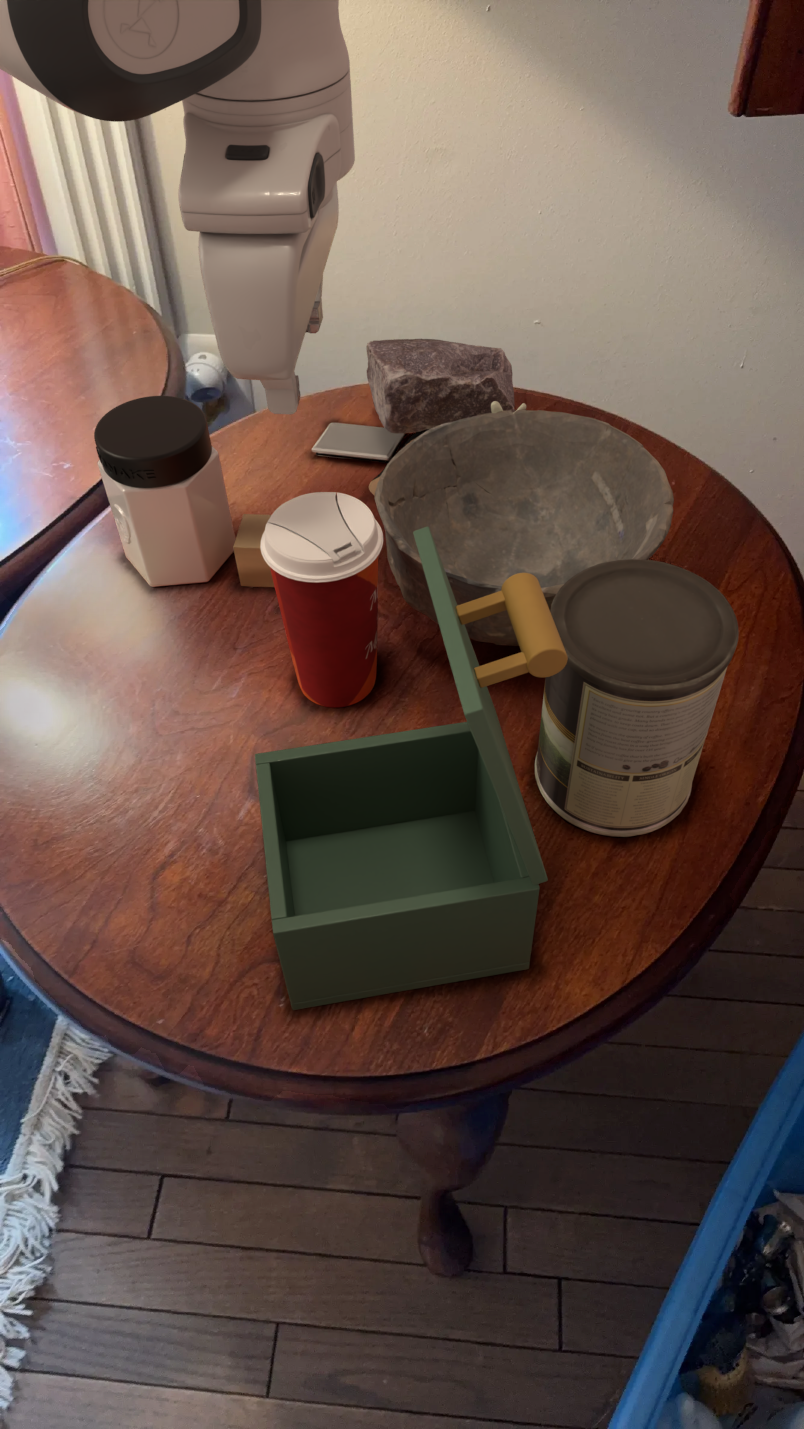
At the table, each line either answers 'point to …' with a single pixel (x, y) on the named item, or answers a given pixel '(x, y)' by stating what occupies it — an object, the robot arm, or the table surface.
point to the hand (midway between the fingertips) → (297, 365)
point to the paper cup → (327, 592)
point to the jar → (165, 489)
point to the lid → (496, 675)
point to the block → (252, 552)
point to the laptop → (358, 442)
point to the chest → (390, 866)
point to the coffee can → (631, 694)
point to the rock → (435, 382)
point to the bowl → (519, 505)
